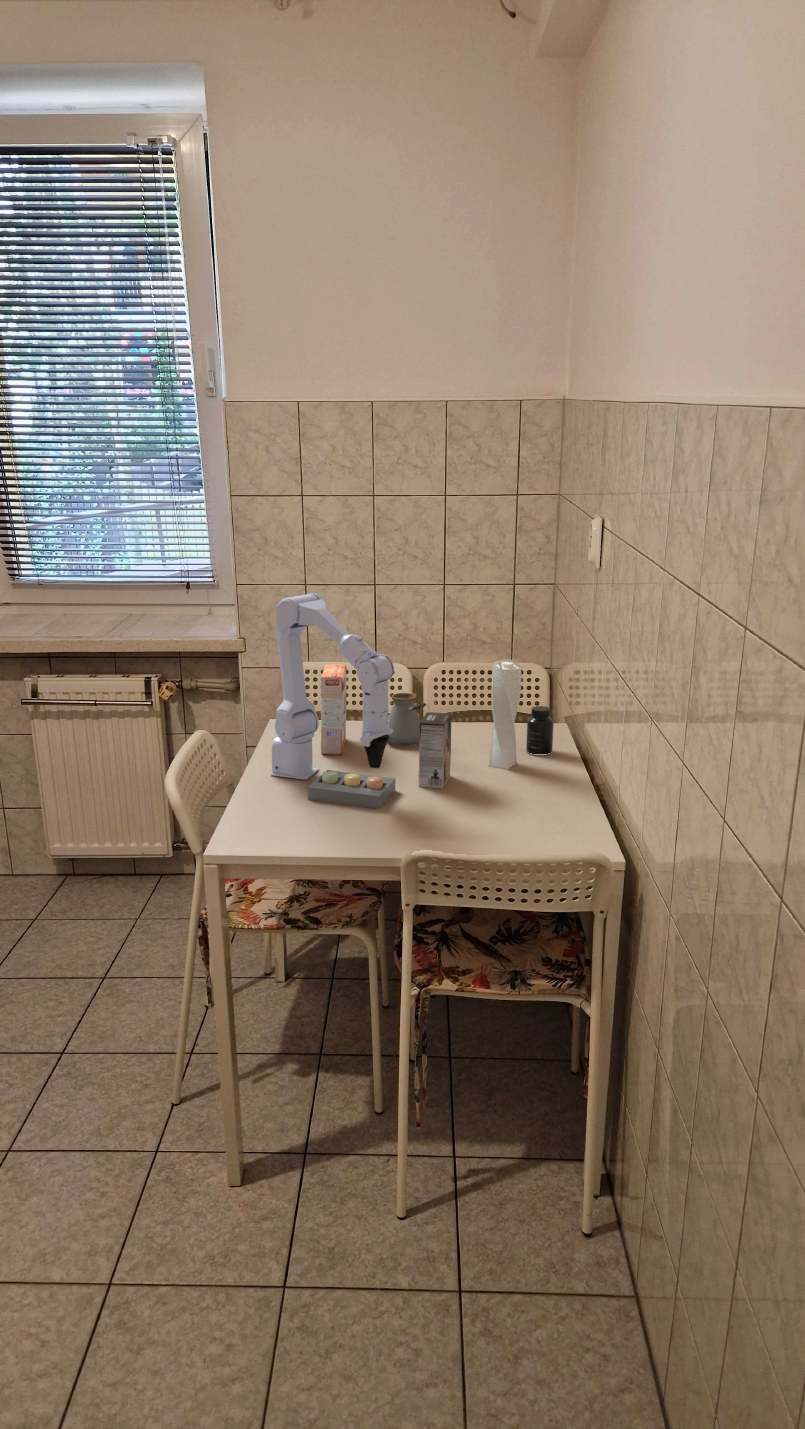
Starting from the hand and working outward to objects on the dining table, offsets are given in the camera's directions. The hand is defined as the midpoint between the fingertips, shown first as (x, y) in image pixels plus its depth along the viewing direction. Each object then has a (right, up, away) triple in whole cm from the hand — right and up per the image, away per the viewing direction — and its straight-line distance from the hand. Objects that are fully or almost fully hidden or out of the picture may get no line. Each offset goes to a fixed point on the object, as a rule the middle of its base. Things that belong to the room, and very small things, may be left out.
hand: (375, 767), depth 227 cm
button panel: (-5, -7, +4) cm, 9 cm away
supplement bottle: (+42, +2, +35) cm, 55 cm away
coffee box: (+14, -4, +13) cm, 20 cm away
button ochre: (-5, -5, +3) cm, 8 cm away
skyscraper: (+31, -1, +25) cm, 40 cm away
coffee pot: (+8, +3, +37) cm, 38 cm away
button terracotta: (0, -6, +2) cm, 6 cm away
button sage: (-11, -5, +5) cm, 13 cm away
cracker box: (-12, +3, +37) cm, 39 cm away
